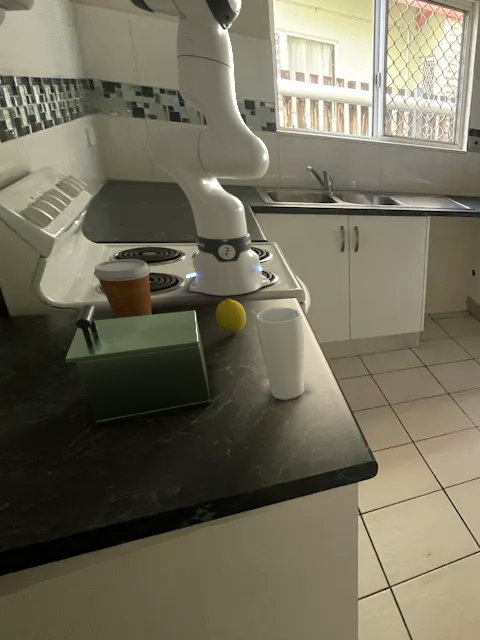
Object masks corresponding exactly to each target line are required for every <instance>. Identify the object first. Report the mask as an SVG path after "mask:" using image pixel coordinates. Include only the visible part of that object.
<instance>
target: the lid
mask: <svg viewBox="0 0 480 640" xmlns="http://www.w3.org/2000/svg"><path fill="white" fill-rule="evenodd" d="M96 312H97V309H96V307H95V306H93V305H91V304H85V305H83V306H82V307H81V309H80V312H79V313H78V317H77V319H76V322H75V325H76V327H77V328H76V331H75V334H74V337H73V339H72V341H71V344H70V346H69V349H68V351H67V353H66V356H65V362H66V364H73V363H77V362H81V361H88V360H96V359H103V358H111V357H118V356H125V355H133V354H140V353H148V352H155V351H163V350H170V349H178V348H185V347H192V346H199V342H198V331H197V322H198V320H197V321H196V317H197V312H196V310H194V309H193V310H186V311H175V312H166V313H156V314H152V315H145V316H135V317H125V318H116V317H115V318H105V319H97V320H96V319H95V314H96Z"/></svg>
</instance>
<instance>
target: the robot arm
mask: <svg viewBox="0 0 480 640" xmlns="http://www.w3.org/2000/svg"><path fill="white" fill-rule="evenodd" d="M129 1H130V2H131V3H132V4H133V5H134V6H135V7H137V8H138V9H141V10H143V11H145V12H149V13H152V14H163V15H167V16H171V17H177V18H178V24H177V31H176V65H177V66H176V67H177V83H178V92H179V95H180V97H181V98H182V100H183V101H184V102H185V104H187V105H188V106H189V107H191V108H192V109H194V110H196V111H197V112H199V113H200V114H202V115H203V116H204V119H205V121H206V128H203V127H193V126H183V125H172V126H161V127H156V128H154V129H153V130H152V131H151V133H150V134H149V136H148V139H147V151H148V154H149V157H150V159H151V161H152V162H153V163H154V164H155V165H156V167H157V168H159V169H160V170H162V171H163V172H164V173H166V174H167V175H168V176H169V177H171V178H172V179H173V180H174V181H175V182H176V184H178V186H179V187H180V189H181V190H182V191H183V192H184V194H185V196H186V199H187V200H188V202H189V205H190V208H191V211H192V214H193V219H194V223H195V227H196V232H197V233H196V235H195V241H196V242H195V243H196V245H197V250H198V253H197V254H196V255H195V256H194V258H193V259H192V267H193V269H194V272H192V273H189V274H186V275H185V277H186V279H189V278H192V277H194V278H193V280H192V281H191V283H190V285H189V286H188V290H189V291H190V292H195V293H196V292H197V293H203V294H207V295H211V296H237V295H243V294H249V293H252V292H255V291H257V290H259V289H261V288H263V287H265V286H269V285H271V280H270V279H269V278H268V277H266V276H265V275H264V274H263V273H262V271H263V268H262V267H261V261H260V256H259V255H258V254H257V253H256V252H254V251H253V250H252V249H251V248H252V239H251V236H250V233H249V232H248V227H247V219H246V212H245V211H246V210H245V207H244V204H243V203H242V201H241V200H240V199H239V198H238V197H237V196H234V195H233V194H231V193H229V192H227V190H225V189H224V188H223V187H222V186H221V185H220V183H219V182H218V181H219V180H218V179H223V180H236V181H244V180H245V181H247V180H253V179H254V180H255V179H261V178H263V176H264V175H265V174H266V173H267V171H268V169H269V165H270V155H269V151H268V149H267V147H266V145H265V143H264V142H263V141H262V140H261V138H260V137H258V136H257V135H256V134H254V133H253V131H251V130H250V129H249V127H248V126H247V125H246V123H245V122H244V120H243V118H242V116H241V114H240V111H239V108H238V104H237V98H236V90H235V89H236V88H235V75H234V73H235V71H234V59H233V51H232V45H231V41H230V36H229V32H228V29H230V28H231V26H232V24H233V22H234V21H235V20H237V18H238V16H239V14H240V12H241V10H242V0H129ZM36 3H37V0H0V27H1V26H2V24H3V23H4V21H5V20H6V12H17V11H31V10H32V9H33V7H35V5H36Z"/></svg>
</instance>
